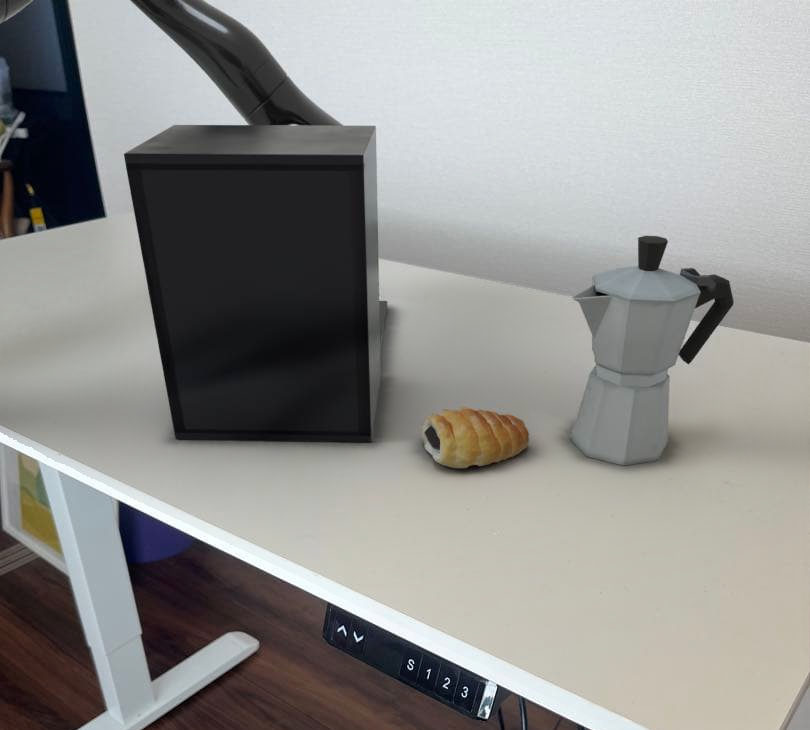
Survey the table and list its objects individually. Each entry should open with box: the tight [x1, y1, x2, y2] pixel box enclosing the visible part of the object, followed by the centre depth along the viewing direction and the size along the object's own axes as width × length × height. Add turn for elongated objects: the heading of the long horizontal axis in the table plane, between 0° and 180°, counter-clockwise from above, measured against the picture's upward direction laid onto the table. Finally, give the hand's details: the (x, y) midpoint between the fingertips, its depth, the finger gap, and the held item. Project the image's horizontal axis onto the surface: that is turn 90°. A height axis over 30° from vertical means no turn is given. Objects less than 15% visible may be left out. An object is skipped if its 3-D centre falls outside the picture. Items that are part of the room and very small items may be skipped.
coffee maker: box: [569, 235, 734, 466], centre depth 69 cm, size 15×9×18 cm, turn 106°
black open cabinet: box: [123, 124, 388, 443], centre depth 82 cm, size 36×18×24 cm, turn 178°
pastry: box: [420, 407, 530, 469], centre depth 72 cm, size 9×7×4 cm
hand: (273, 235), depth 73 cm, fingers open, 8 cm apart
